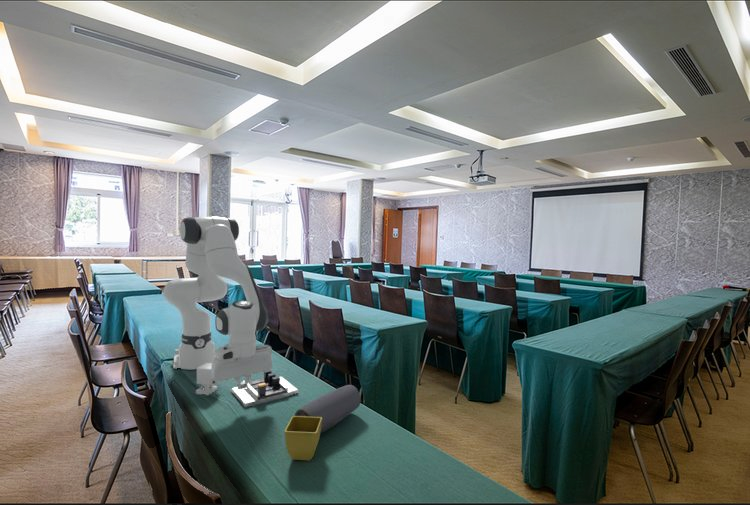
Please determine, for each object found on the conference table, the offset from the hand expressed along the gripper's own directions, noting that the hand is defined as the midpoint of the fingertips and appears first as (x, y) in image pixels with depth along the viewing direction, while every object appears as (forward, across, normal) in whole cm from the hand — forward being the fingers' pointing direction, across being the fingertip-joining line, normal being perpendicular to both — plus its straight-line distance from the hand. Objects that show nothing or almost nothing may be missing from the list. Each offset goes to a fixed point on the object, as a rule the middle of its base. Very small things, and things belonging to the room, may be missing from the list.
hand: (242, 388), depth 131 cm
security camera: (+7, +6, -19) cm, 21 cm away
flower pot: (+8, -4, +37) cm, 38 cm away
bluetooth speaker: (+7, -18, +27) cm, 34 cm away
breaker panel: (+7, -10, -6) cm, 14 cm away
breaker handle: (+4, -7, 0) cm, 8 cm away
